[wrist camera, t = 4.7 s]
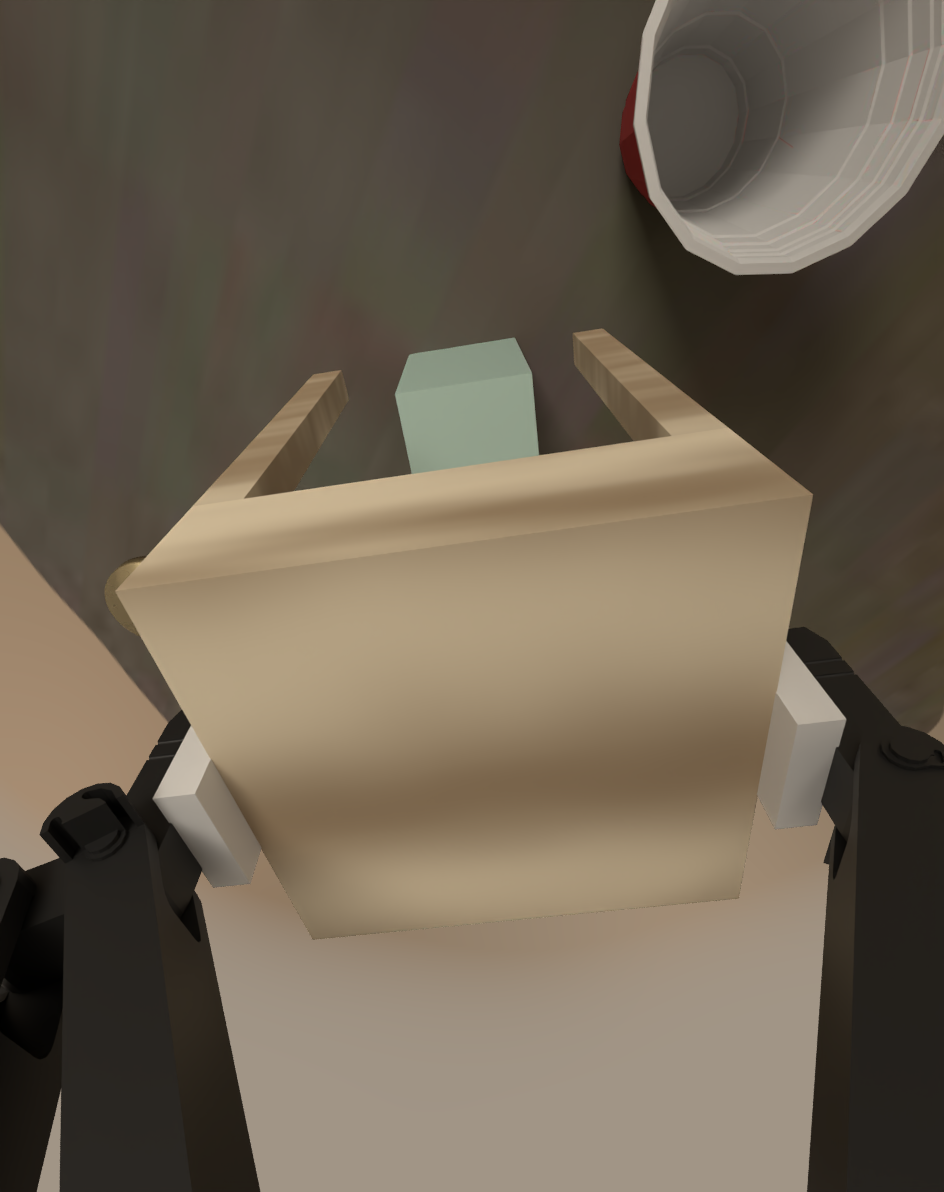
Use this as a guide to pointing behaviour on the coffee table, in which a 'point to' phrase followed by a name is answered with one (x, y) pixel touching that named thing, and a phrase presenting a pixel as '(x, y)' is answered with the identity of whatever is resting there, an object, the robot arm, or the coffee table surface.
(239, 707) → the wooden stool
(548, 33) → the coffee table surface
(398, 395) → the block
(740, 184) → the plastic cup
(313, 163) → the coffee table surface
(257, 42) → the coffee table surface
